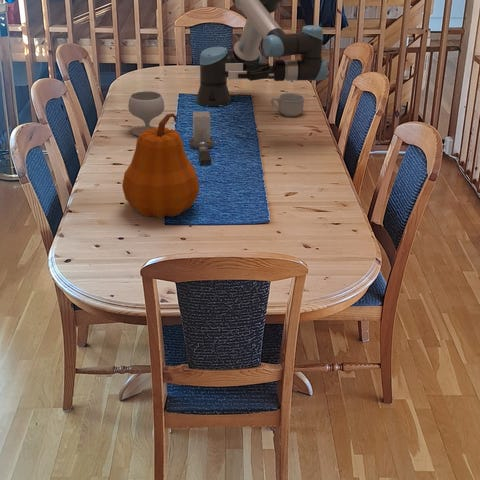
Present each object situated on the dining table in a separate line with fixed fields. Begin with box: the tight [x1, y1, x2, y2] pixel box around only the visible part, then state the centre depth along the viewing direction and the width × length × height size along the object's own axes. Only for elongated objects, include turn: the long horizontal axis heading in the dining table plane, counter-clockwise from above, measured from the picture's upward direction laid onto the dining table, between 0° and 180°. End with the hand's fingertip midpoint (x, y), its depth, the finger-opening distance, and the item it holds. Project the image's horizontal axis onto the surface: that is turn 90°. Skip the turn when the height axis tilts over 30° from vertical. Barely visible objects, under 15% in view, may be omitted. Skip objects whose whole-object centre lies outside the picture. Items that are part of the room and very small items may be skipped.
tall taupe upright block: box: [192, 111, 211, 143], centre depth 282 cm, size 6×6×10 cm
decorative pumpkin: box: [121, 113, 201, 219], centre depth 229 cm, size 24×24×30 cm
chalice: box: [127, 91, 165, 137], centre depth 294 cm, size 14×14×15 cm
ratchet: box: [189, 136, 215, 166], centre depth 278 cm, size 24×9×6 cm, turn 7°
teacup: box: [270, 92, 305, 118], centre depth 319 cm, size 14×11×8 cm
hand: (226, 71), depth 275 cm, fingers open, 13 cm apart
